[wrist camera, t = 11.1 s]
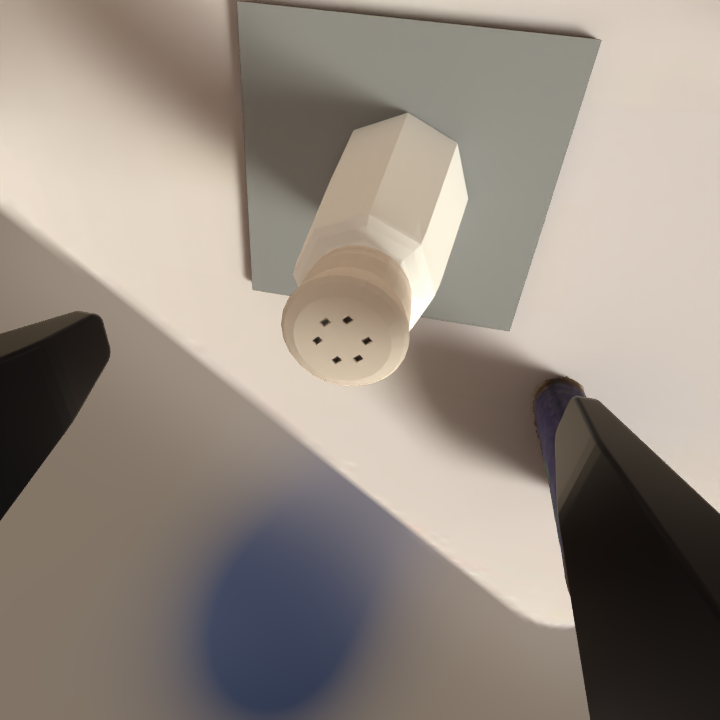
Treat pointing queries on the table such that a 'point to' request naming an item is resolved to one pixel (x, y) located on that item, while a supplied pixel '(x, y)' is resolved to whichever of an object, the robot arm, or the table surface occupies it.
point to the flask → (553, 429)
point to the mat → (430, 105)
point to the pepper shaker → (375, 251)
